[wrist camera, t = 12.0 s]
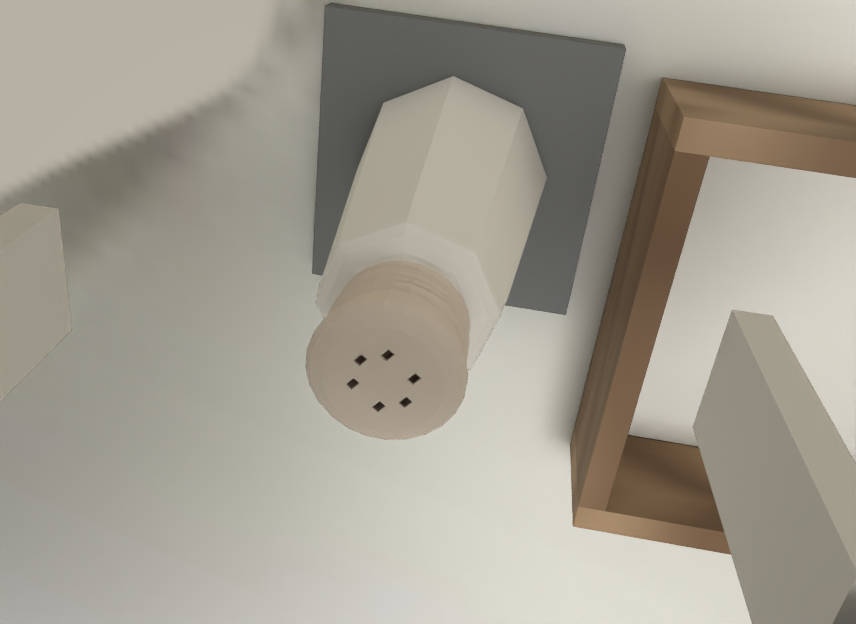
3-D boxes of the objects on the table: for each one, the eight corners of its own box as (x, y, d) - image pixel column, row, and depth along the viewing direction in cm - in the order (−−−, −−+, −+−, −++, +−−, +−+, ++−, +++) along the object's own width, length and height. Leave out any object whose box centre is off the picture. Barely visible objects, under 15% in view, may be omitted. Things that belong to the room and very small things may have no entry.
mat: (317, 265, 26) (312, 273, 25) (330, 3, 22) (324, 6, 22) (565, 305, 25) (565, 314, 25) (624, 45, 22) (625, 49, 21)
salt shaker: (587, 177, 23) (614, 400, 13) (448, 290, 25) (386, 549, 16) (454, 31, 21) (377, 161, 12) (321, 164, 24) (165, 364, 14)
